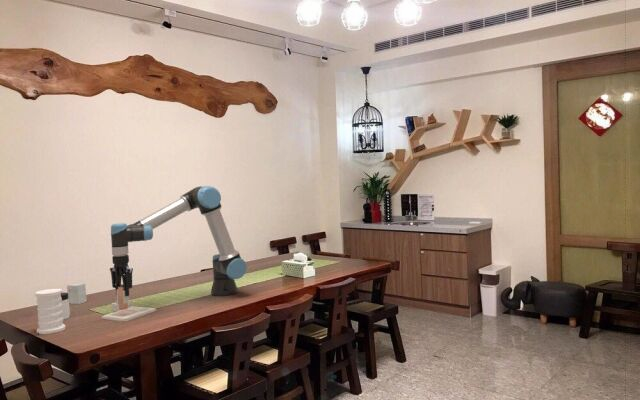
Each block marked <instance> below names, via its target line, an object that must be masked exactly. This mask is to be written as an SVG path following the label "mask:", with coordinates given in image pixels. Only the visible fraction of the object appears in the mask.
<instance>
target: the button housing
mask: <svg viewBox="0 0 640 400" xmlns="http://www.w3.org/2000/svg"><path fill="white" fill-rule="evenodd" d="M132 306H133V302H132V301H131V300H129V302H128V308H129V307H132ZM110 309H111V311H113V312H116V311H120V310H119V304H117V301H115V302H112V303H110Z"/></svg>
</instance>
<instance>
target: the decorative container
mask: <svg viewBox="0 0 640 400" xmlns="http://www.w3.org/2000/svg"><path fill="white" fill-rule="evenodd" d="M61 293H63V288H47V289H42V290H38V291H36V292H35V293H34V295H35V297H36V304H37V306H36V310H37V319H38V321H37V324H38V327H37V328H36V334H38V333H39V335H47V334H48V335H49V334H54V333H59V332H62V331H64V330H65V329H66V325H65V324H64V323H63V322H64V319H63V317H62V313H63V311H62V303H61V300H62V298H61Z"/></svg>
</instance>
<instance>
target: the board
mask: <svg viewBox="0 0 640 400" xmlns="http://www.w3.org/2000/svg"><path fill="white" fill-rule="evenodd" d="M156 311H157V308H155V307H146V306H145V307H144V306H137V305H135V306H134V305H132V307H129V308H128V309H125V310H120V311H113V312H111V313H108V314H105V315H102V316H101V319H103V320H110V321H118V322H119V321H120V322H128V321H131V320H134V319H136V318H139V317H142V316H145V315H149V314H150V313H151V314H152V313H154V312H156Z"/></svg>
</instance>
